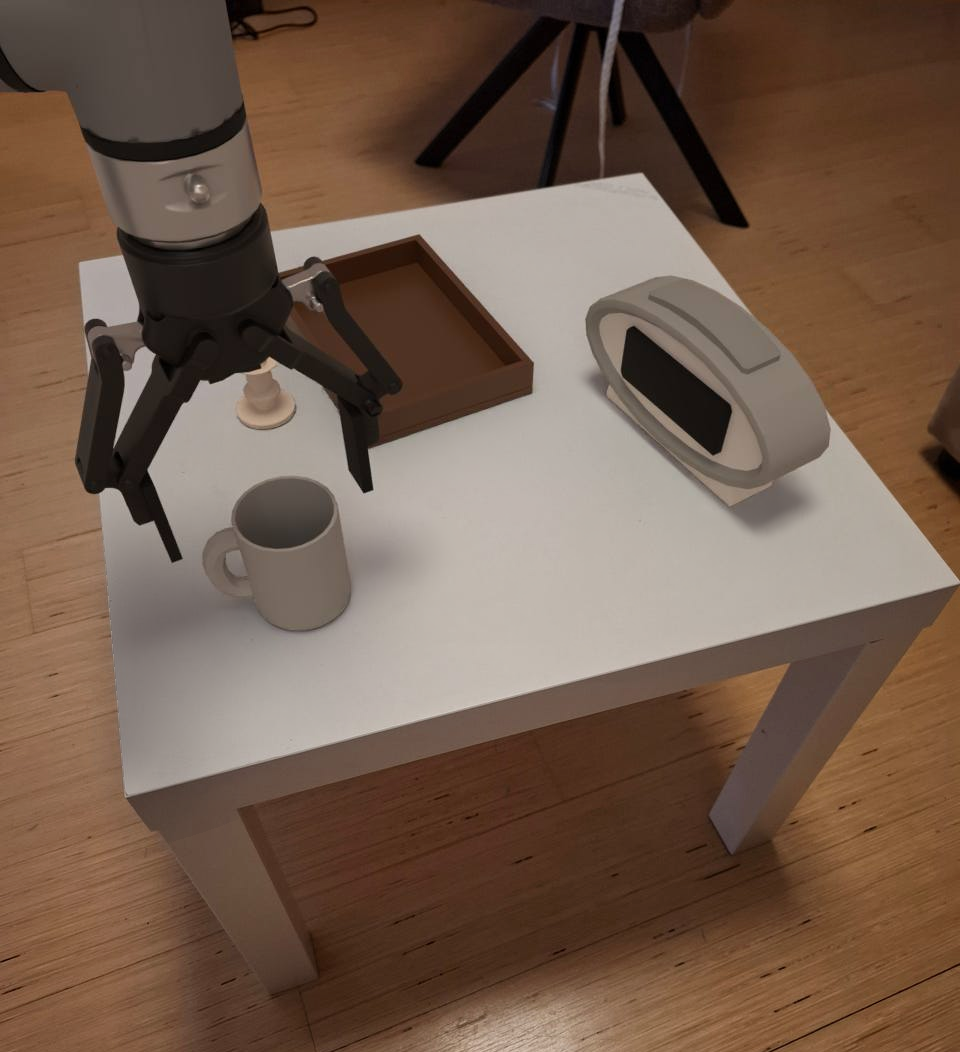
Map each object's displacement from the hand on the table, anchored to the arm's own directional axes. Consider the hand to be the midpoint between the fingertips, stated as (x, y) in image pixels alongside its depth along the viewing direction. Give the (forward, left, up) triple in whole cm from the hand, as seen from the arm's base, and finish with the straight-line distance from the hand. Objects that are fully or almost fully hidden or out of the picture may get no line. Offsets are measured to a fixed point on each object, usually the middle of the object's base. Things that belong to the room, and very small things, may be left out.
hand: (269, 513), depth 64 cm
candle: (-21, +6, -9) cm, 24 cm away
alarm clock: (-1, +37, -9) cm, 38 cm away
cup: (0, 0, -9) cm, 9 cm away
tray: (-24, +20, -9) cm, 32 cm away
